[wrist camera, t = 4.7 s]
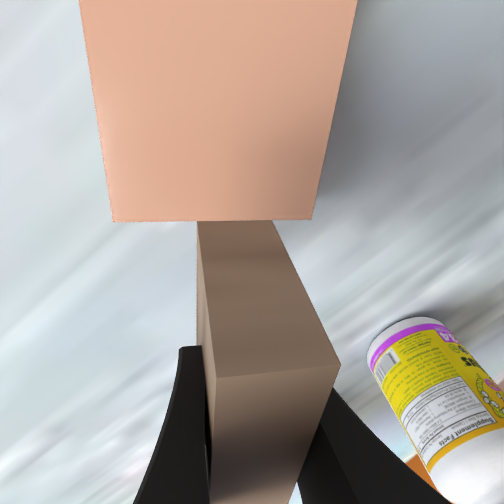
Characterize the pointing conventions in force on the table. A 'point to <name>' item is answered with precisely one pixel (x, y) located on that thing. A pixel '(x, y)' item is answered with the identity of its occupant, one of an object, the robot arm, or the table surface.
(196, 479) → the robot arm
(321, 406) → the bar
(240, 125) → the glazed tile
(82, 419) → the table surface
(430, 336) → the supplement bottle
